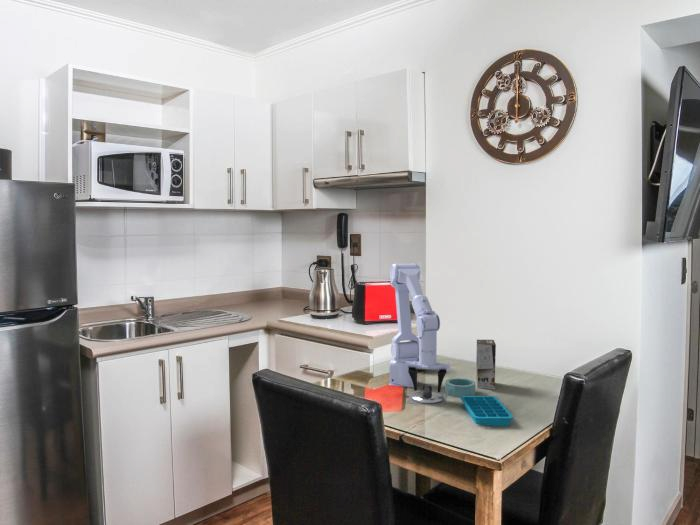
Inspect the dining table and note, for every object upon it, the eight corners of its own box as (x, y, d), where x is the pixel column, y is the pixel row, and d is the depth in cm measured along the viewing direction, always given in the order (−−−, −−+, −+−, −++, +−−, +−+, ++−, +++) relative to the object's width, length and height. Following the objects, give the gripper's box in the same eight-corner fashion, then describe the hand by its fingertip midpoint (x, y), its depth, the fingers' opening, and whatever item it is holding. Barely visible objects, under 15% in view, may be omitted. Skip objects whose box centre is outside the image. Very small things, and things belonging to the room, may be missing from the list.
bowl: (444, 396, 183) (444, 385, 182) (447, 388, 192) (447, 377, 192) (474, 399, 180) (474, 387, 180) (475, 390, 189) (476, 379, 189)
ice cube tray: (474, 428, 155) (474, 417, 155) (459, 405, 175) (459, 395, 175) (514, 428, 155) (514, 417, 155) (495, 404, 175) (495, 395, 175)
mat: (406, 404, 175) (406, 402, 175) (412, 393, 186) (412, 392, 186) (443, 407, 172) (443, 406, 172) (447, 396, 183) (447, 395, 183)
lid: (409, 402, 175) (409, 388, 175) (414, 393, 185) (414, 379, 185) (441, 405, 173) (441, 391, 172) (444, 395, 183) (444, 382, 182)
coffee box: (495, 390, 190) (496, 344, 189) (476, 388, 191) (477, 343, 190) (493, 382, 199) (494, 339, 198) (475, 381, 200) (476, 338, 199)
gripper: (403, 351, 176) (403, 392, 177) (448, 354, 172) (448, 396, 173) (407, 347, 183) (407, 386, 184) (450, 349, 179) (450, 389, 180)
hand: (427, 390), depth 179 cm, fingers open, 7 cm apart
